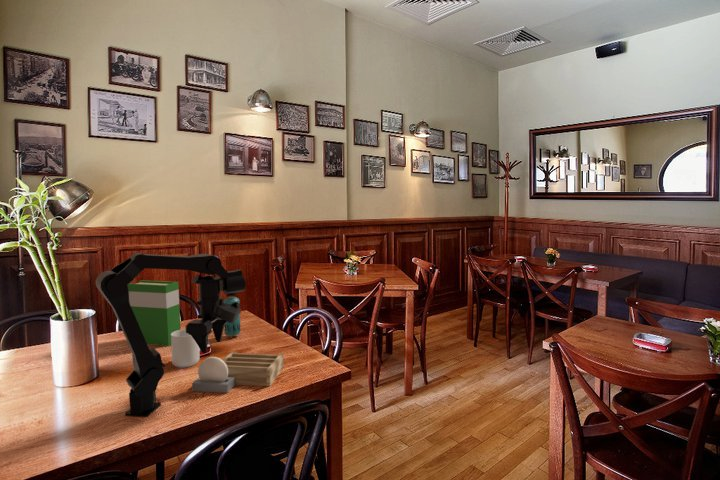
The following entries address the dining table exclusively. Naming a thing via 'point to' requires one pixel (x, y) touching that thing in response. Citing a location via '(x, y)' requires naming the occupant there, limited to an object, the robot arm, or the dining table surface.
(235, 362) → the rack
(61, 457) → the dining table surface
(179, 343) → the mug
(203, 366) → the plate
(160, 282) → the green cereal box
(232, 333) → the beverage bottle
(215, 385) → the stand
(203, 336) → the robot arm
